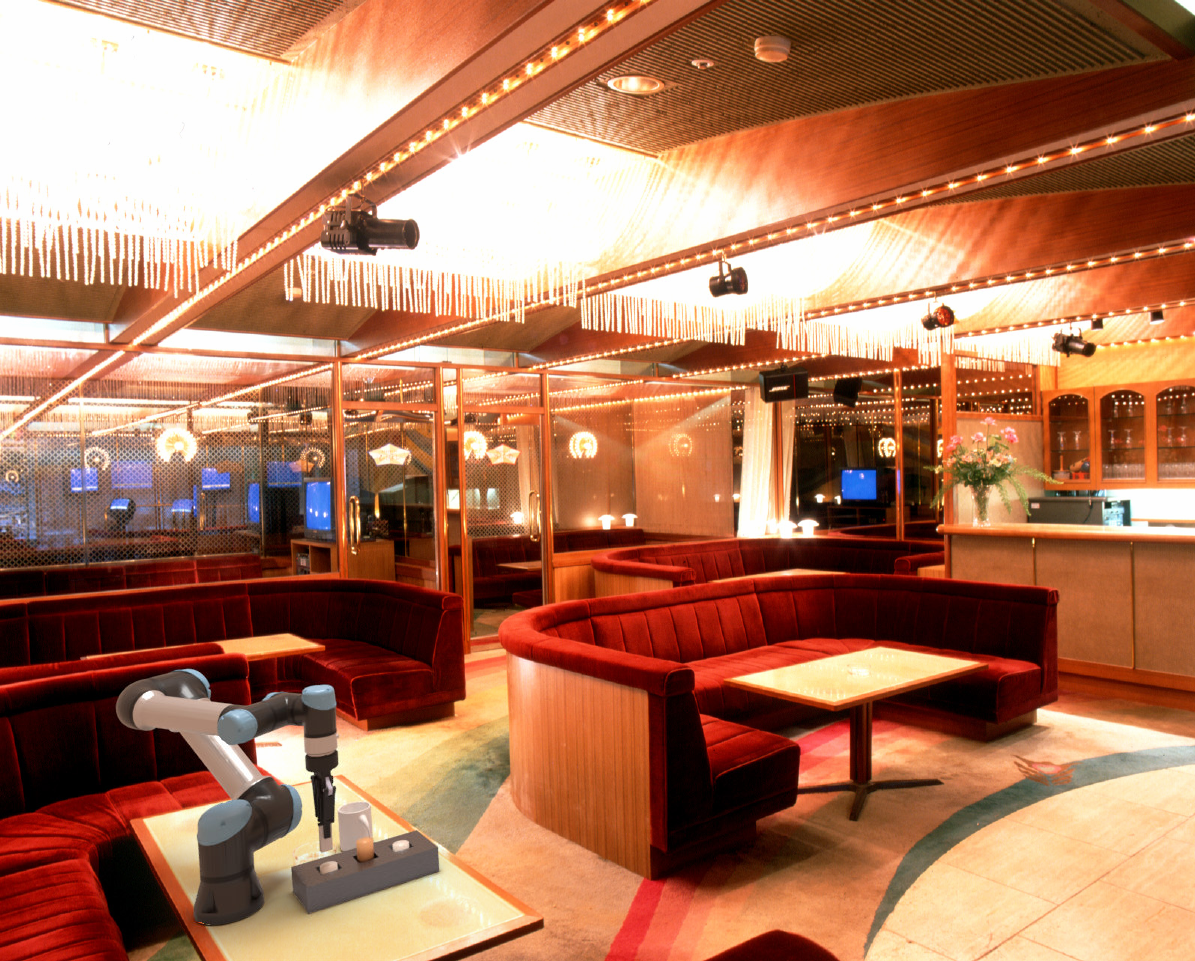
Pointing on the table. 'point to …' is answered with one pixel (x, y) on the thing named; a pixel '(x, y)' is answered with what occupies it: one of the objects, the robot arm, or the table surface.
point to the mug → (354, 823)
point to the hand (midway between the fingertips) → (326, 849)
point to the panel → (363, 872)
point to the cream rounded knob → (400, 845)
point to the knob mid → (365, 849)
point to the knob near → (328, 867)
